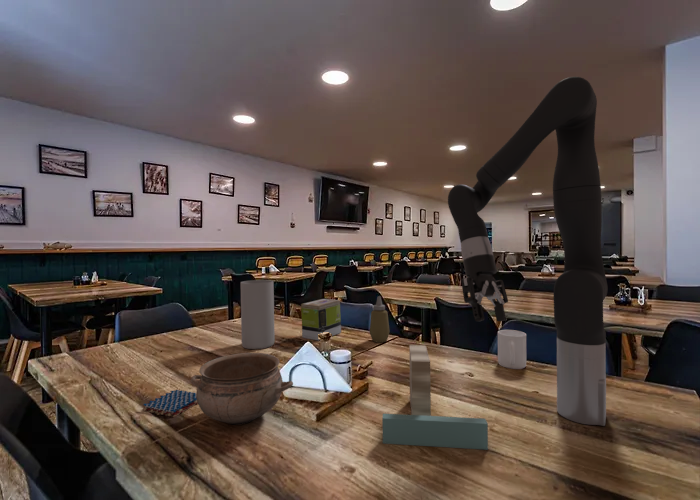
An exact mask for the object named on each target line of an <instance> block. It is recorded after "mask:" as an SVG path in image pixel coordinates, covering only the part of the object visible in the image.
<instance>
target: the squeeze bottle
mask: <svg viewBox="0 0 700 500" xmlns="http://www.w3.org/2000/svg"><path fill="white" fill-rule="evenodd" d="M388 313H389V312H388V311H387V310H386V305H385V304H383V301H382V296H380V295H379V296H377V298H376V302H375V304H373V310H372V311H371V312H370V322H369V323H370V324H369V334H370V337H371V340H372V341H373V342H374V343H385V342H387V340H388V338H389V334H390V325H389V324H390V323H389V315H388Z"/></svg>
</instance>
